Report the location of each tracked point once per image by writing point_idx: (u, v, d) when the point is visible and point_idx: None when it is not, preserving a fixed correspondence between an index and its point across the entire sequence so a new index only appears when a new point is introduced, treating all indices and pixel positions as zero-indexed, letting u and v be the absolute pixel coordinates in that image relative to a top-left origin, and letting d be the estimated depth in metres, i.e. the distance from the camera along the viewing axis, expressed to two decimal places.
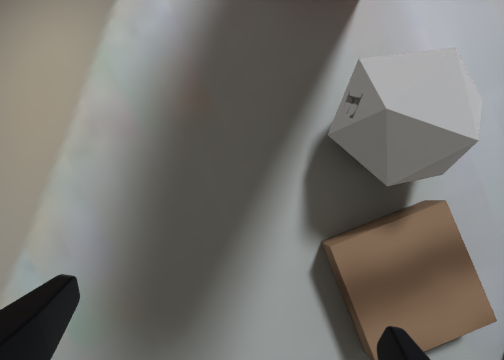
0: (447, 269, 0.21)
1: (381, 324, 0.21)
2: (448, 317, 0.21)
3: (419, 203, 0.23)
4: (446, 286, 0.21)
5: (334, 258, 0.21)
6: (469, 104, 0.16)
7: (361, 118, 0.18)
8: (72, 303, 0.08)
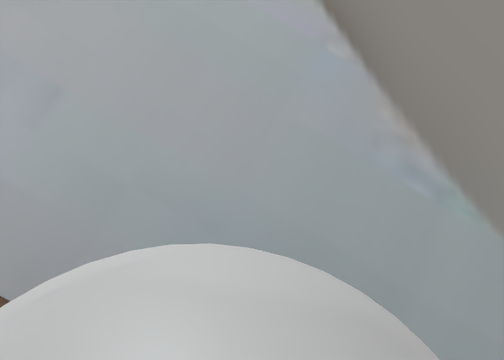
0: None
1: None
2: None
3: None
4: None
5: None
6: None
7: None
8: None
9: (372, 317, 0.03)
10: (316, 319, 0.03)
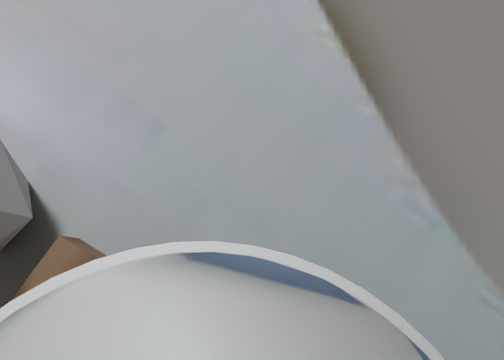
0: None
1: None
2: None
3: None
4: None
5: None
6: None
7: None
8: None
9: (375, 314, 0.03)
10: (319, 316, 0.03)
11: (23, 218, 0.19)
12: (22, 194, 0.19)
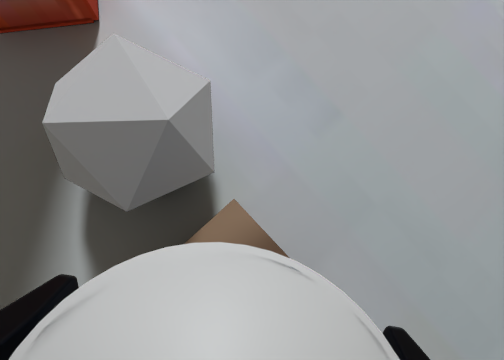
0: None
1: None
2: None
3: None
4: None
5: None
6: (146, 85, 0.13)
7: (52, 145, 0.14)
8: None
9: (326, 290, 0.04)
10: (289, 290, 0.04)
11: (208, 170, 0.17)
12: (212, 145, 0.17)
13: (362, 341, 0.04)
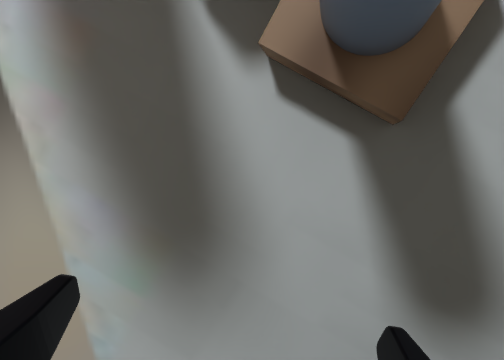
0: None
1: (370, 71, 0.16)
2: None
3: None
4: None
5: (272, 50, 0.17)
6: None
7: None
8: (72, 303, 0.08)
9: None
10: None
11: None
12: None
13: None
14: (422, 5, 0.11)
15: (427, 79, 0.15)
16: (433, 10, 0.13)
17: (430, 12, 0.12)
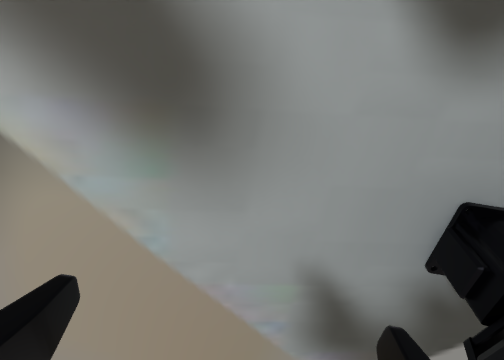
0: None
1: None
2: None
3: None
4: None
5: None
6: None
7: None
8: (72, 303, 0.08)
9: None
10: None
11: None
12: None
13: None
14: None
15: None
16: None
17: None
